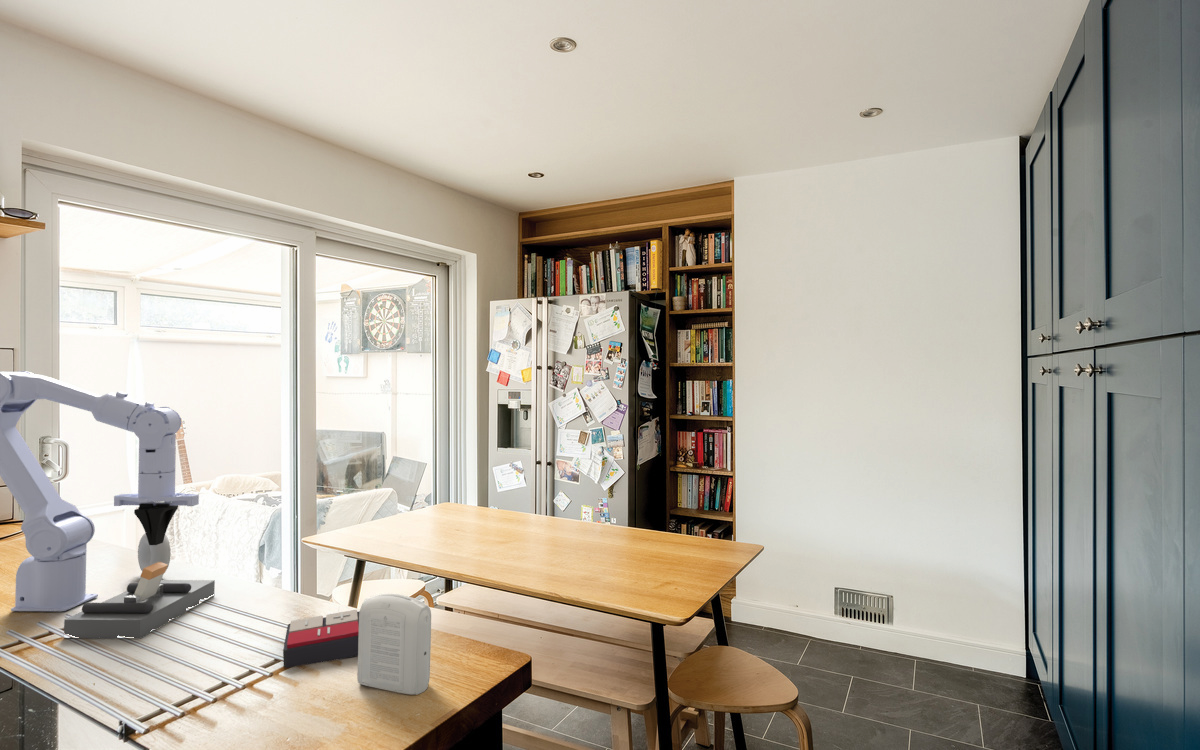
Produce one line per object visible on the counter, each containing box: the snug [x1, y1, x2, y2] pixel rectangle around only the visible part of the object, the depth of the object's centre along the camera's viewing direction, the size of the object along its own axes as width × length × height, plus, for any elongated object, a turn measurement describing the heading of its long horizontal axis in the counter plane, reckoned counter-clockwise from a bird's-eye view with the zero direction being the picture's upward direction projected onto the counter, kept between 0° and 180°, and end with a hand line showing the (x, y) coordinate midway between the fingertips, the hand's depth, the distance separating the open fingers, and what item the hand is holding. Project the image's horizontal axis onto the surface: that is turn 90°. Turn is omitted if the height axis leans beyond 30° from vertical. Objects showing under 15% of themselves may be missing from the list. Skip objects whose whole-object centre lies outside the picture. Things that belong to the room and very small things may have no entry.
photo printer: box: [356, 593, 432, 696], centre depth 86 cm, size 10×4×12 cm, turn 72°
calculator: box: [282, 609, 360, 669], centre depth 99 cm, size 11×4×15 cm
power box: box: [63, 579, 216, 640], centre depth 110 cm, size 12×20×5 cm, turn 1°
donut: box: [137, 533, 172, 573], centre depth 131 cm, size 10×4×10 cm, turn 55°
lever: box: [134, 562, 169, 602], centre depth 108 cm, size 2×4×6 cm, turn 1°
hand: (156, 543), depth 118 cm, fingers closed
